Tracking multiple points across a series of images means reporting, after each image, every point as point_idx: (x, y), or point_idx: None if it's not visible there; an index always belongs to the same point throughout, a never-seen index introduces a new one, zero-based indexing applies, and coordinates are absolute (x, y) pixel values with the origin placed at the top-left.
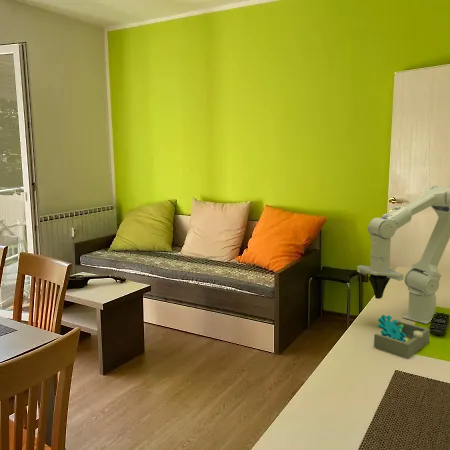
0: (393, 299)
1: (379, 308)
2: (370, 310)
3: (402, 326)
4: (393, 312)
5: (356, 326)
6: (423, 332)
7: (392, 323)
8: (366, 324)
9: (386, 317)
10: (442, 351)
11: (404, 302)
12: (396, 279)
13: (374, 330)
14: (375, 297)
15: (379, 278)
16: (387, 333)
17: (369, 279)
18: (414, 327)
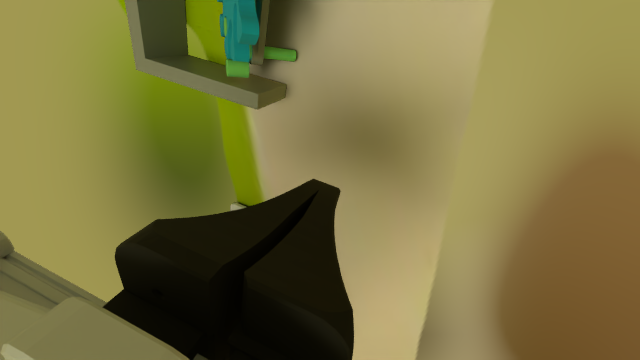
0: (361, 350)
1: (388, 289)
2: (418, 270)
3: (226, 63)
4: (339, 265)
5: (459, 84)
6: (132, 16)
7: (232, 2)
8: (412, 130)
9: (258, 24)
10: (125, 5)
11: None
12: (27, 258)
13: (366, 76)
14: (337, 189)
15: (170, 283)
16: None
17: (335, 301)
18: (185, 69)
